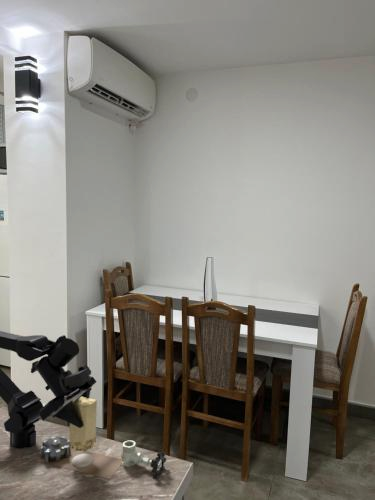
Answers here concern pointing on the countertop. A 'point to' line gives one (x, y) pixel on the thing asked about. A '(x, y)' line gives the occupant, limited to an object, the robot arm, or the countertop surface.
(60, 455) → the sun gear
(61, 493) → the countertop surface
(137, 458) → the valve
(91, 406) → the gold tall block
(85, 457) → the carrier board
